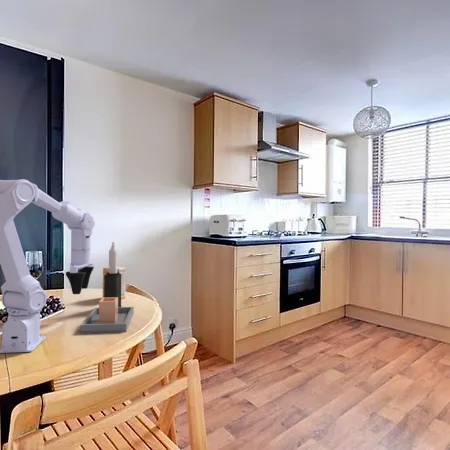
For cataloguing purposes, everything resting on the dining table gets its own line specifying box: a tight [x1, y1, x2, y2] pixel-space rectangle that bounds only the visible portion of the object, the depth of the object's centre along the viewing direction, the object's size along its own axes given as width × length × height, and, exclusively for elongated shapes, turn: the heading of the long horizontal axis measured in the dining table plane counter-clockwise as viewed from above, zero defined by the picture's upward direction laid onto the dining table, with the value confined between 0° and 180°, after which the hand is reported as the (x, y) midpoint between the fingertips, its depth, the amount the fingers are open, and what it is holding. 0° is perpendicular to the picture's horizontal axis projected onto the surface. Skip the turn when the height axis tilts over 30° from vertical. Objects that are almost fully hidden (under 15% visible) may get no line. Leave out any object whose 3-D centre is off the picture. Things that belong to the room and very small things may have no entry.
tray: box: [80, 306, 135, 334], centre depth 106 cm, size 18×13×2 cm
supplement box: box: [102, 266, 127, 301], centre depth 135 cm, size 8×5×13 cm, turn 73°
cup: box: [98, 297, 118, 323], centre depth 106 cm, size 5×5×7 cm
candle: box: [104, 241, 122, 307], centre depth 121 cm, size 5×5×25 cm
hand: (80, 291), depth 106 cm, fingers open, 7 cm apart
